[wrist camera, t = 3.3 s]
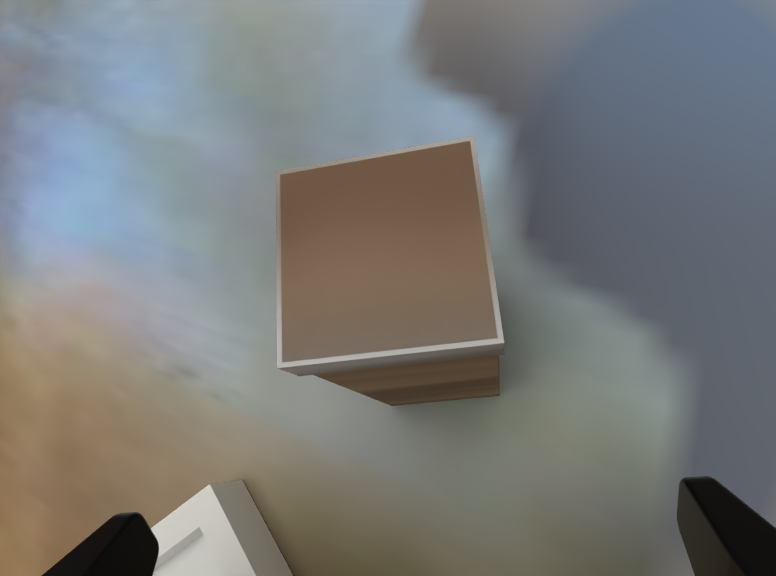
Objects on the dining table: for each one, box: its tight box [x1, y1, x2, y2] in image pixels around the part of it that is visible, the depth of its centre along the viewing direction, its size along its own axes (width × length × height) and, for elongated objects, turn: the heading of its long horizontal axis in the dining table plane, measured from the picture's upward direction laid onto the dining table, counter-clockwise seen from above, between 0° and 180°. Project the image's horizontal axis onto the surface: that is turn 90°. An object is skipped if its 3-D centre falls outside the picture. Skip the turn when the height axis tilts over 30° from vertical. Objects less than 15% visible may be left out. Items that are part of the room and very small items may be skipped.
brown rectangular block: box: [276, 136, 504, 406], centre depth 16 cm, size 4×4×11 cm
